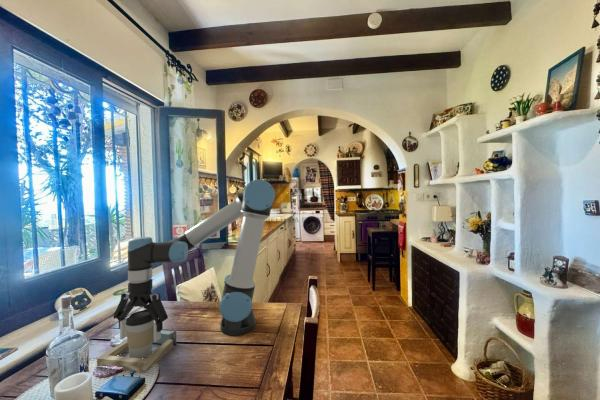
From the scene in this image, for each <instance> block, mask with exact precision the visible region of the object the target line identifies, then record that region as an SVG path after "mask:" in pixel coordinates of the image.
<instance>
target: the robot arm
mask: <svg viewBox="0 0 600 400" xmlns="http://www.w3.org/2000/svg"><path fill="white" fill-rule="evenodd" d="M275 197H276V192H275V189H274V187H273V186H272V184H271V183H270V182H268V181H266V180H263V179H253V180H251V181H249V182H248V183H247V184H246V186H245V187H244V189H243V191H242V192H241V193H239V194H238V195H237V196H236V198H235V199H234V200H233V201H231V202H230V203H229V204H227V205H226V206H224V207H222V208H220V209H219V210H217V211H216V212H214V213H213V214H211V215H209V216H208V217H206V218H205V219H203V220H202V221H200V222H199V223H197V224H196V225H194V226H192V227H191V228H190V229H188V230H186V231H185V232H183V233H182V234H180V235H178V236H177V237H175V238H174V239H172V240H169V241H164V242H163V241H161V242H155V241H154V240H153V238H152V237H151V236H141V237H140V236H139V237H138V236H137V237H133V238H130V239H129V240H128V244H127V267H128V268H127V282H128V283H127V291H126V292H124V293H123V292H122V293H121V294H120V300H119V303H118V305H117V308H116V309H115V312H114V314H113V319H116V320H117V321H118V329H119V332H120V333H119V340H124V339H125V338H127V332H126V330H127V326H126V320H127V318H128V316H129V313H131V311H132V310H133V309H134V307H139V308H143V309H144V310H145V309H147V311H148V312H149V314H150V315H151V316H152V318H153V319H154V342H157V341H158V340H159V339H160V338H161V331H163V325H164V324H163V322H165V321H166V320H167V319H168V318H169V317H168V314H167V312H166V309H165V306H164V305H163V302H162V300H161V294H160V292H157V293H154V294H153V293H152V290H153V279H152V278H153V264H164V263H165V264H167V263H169V264H171V263H173V264H174V263H175V264H176V263H182V262H185V261H187V258H188V255H189V251H191V250H192V249H194V248H195V247H197V246H199V245H200V244H202V243H203V242H204V241H206V240H209V238H210V237H212V236H214V235H216V234H217V233H218V232H220V231H221V230H223V229H224V228H227V227H228V226H230V225H231V224H233V222H236V221H237V220H238V219H239V218H241V217H242V220H241V225H240V229H239V234H238V235H239V236H238V239H237V244H236V249H235V254H234V258H233V262H232V268H231V273H230V274H227V275H226V276H225V277H224V281H223V283H224V285H223V289H222V295H221V300H220V301H219V303H218V304H219V312H220V315H221V316H222V319H221V321H220V331H221V333H222V334H225V335H227V336H241V335H246V334H248V333H251V332H252V331H253V330H254V329H255V328H256V325H257V323H256V317H255V313H254V310H253V299H254V293H255V287H256V283H255V281H254V280H253V279H254V274H255V269H256V264H257V260H258V254H259V250H260V244H261V239H262V237H263V236H262V235H263V231H264V226H265V223H266V220H267V219H268V218H270V215H271V211H272V206H273V203H274V202H275V199H276V198H275ZM129 300H130V301H129ZM128 301H129V302H128Z"/></svg>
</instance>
